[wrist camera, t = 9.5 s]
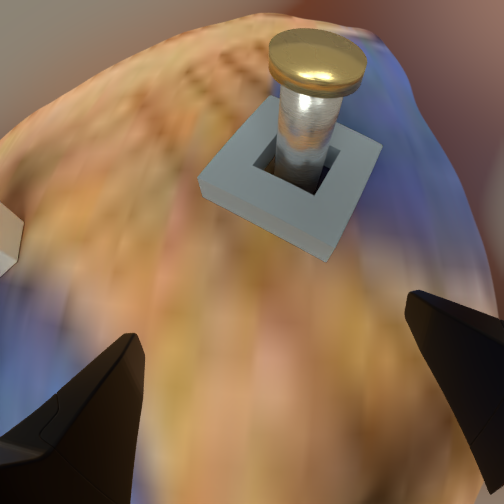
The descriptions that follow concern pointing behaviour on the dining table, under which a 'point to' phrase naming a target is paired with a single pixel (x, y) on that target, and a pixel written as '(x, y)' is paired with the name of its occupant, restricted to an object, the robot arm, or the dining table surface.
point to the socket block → (283, 193)
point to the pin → (310, 98)
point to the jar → (9, 238)
